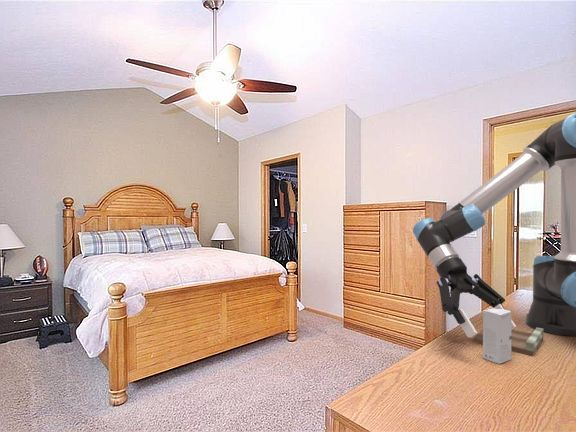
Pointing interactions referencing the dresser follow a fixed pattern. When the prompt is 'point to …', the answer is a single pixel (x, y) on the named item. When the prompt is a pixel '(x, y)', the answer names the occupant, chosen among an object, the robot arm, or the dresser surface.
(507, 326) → the skincare box
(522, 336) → the walnut board
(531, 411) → the dresser surface
